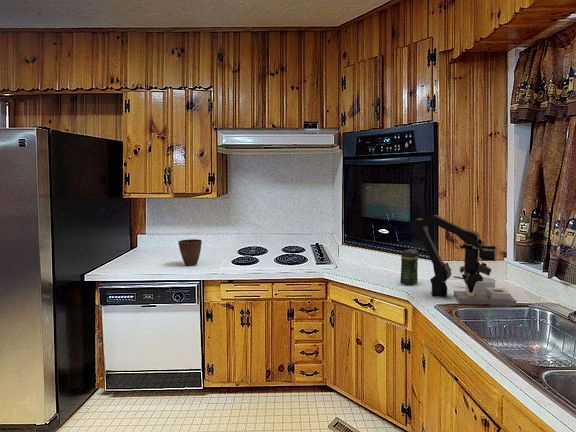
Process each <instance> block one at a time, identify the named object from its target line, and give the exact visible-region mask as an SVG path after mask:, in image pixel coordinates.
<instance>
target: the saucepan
mask: <svg viewBox="0 0 576 432" xmlns="http://www.w3.org/2000/svg"><path fill="white" fill-rule="evenodd" d="M482 277H483V281H478V282H476V284H475V289H474V292H486V288H496V282H497V280H496V279H495V278H492V277H485V276H482ZM453 279H460V280H464V279H463V277H462V276H455V275H454V276H453Z"/></svg>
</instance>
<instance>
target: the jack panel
mask: <svg viewBox="0 0 576 432" xmlns="http://www.w3.org/2000/svg"><path fill="white" fill-rule="evenodd" d="M453 297H454V298H455V299H456V302H457V303H458V304H466V305H483V304H489V305H490V306H503V305H509V306H508V307H512V306H513V307H516V306H517V299H515V298H514V297H513V296H512V293H510V292H509V291H508V290H507V289H505V288H503V287H495V288H486V292H478V291H474V296H466V290H453ZM489 305H488V306H489Z"/></svg>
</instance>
